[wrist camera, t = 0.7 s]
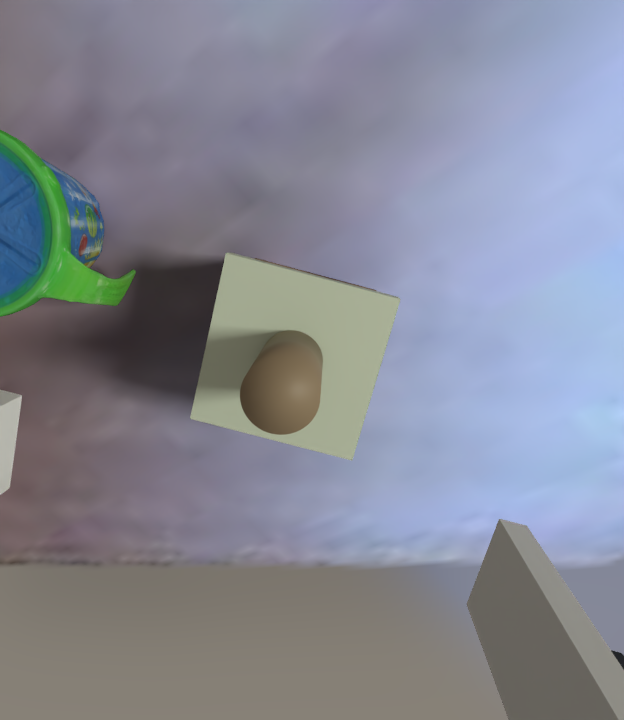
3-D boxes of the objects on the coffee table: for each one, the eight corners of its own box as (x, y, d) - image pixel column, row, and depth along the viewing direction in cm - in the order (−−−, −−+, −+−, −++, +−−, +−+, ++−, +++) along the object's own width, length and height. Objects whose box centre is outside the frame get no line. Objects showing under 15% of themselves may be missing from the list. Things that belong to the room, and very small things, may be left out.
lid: (195, 412, 32) (150, 469, 24) (230, 252, 30) (193, 257, 22) (351, 452, 32) (357, 522, 24) (397, 296, 30) (421, 317, 22)
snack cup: (186, 237, 38) (135, 236, 28) (107, 348, 40) (33, 384, 30) (3, 92, 36) (-121, 37, 26) (-69, 216, 38) (-210, 208, 28)
